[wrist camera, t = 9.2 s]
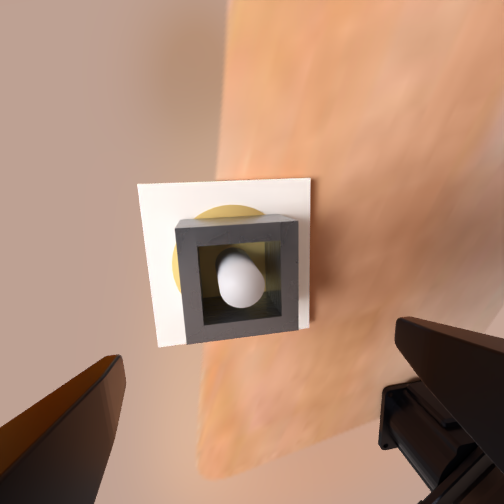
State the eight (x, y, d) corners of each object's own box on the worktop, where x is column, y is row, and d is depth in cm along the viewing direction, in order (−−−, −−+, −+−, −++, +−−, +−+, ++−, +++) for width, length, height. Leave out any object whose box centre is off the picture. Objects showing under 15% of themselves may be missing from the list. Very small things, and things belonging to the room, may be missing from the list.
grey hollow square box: (279, 303, 20) (298, 330, 16) (189, 313, 19) (186, 344, 15) (278, 214, 19) (298, 220, 15) (180, 219, 18) (174, 228, 14)
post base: (304, 321, 22) (336, 363, 17) (160, 339, 20) (146, 392, 15) (305, 178, 20) (343, 174, 14) (140, 184, 18) (115, 182, 12)
